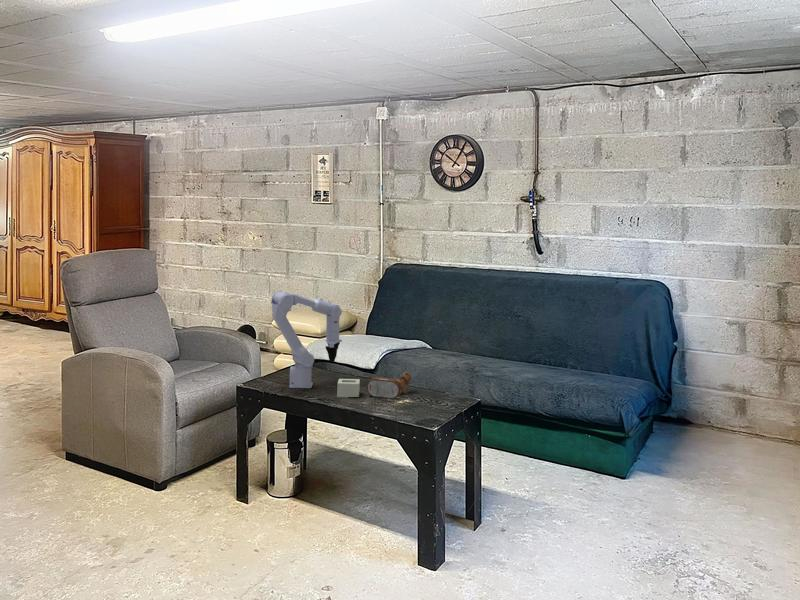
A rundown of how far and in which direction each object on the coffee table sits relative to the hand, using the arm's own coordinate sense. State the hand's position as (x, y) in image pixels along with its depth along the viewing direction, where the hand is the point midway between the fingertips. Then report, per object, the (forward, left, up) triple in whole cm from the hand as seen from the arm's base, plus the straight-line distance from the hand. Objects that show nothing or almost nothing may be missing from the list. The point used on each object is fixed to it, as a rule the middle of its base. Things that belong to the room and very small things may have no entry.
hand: (332, 359), depth 319 cm
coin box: (+9, -21, -10) cm, 25 cm away
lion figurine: (+30, -16, -11) cm, 35 cm away
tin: (+24, -23, -11) cm, 35 cm away
